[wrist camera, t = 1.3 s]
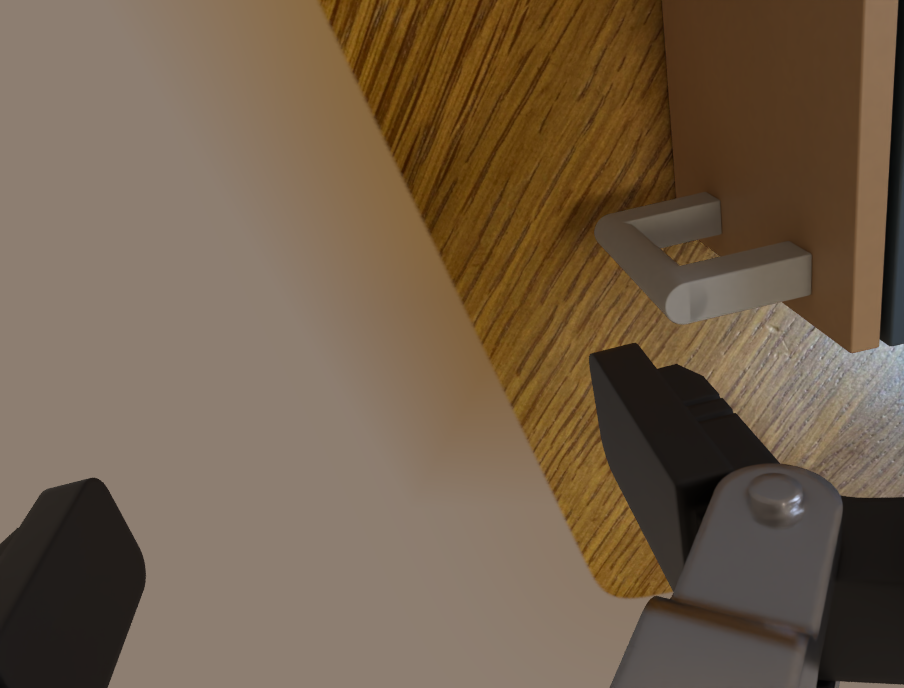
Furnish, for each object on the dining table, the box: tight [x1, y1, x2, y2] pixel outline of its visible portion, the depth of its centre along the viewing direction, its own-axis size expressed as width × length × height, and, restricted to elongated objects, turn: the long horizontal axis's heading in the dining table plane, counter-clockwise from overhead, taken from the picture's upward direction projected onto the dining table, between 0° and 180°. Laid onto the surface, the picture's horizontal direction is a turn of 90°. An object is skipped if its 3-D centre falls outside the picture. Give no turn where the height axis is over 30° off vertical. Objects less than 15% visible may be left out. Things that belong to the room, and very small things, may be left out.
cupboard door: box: [594, 0, 898, 353], centre depth 28 cm, size 6×18×15 cm, turn 12°
